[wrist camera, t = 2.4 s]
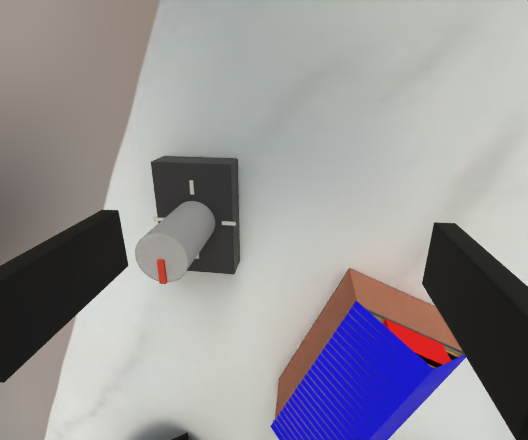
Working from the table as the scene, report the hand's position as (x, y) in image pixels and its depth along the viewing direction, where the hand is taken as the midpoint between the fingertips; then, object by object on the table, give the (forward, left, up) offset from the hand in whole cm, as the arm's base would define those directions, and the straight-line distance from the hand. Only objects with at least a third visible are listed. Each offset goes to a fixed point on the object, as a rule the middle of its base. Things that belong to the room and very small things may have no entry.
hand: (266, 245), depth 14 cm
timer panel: (+6, -9, -20) cm, 23 cm away
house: (+23, +8, -20) cm, 32 cm away
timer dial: (+6, -10, -17) cm, 21 cm away
